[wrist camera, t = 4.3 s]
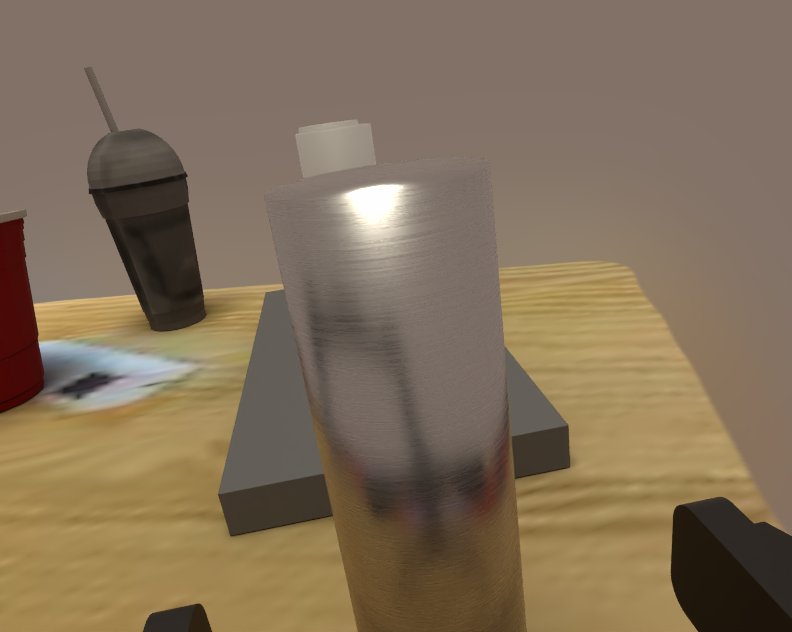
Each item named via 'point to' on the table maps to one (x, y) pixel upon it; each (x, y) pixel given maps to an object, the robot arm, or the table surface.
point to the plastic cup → (17, 318)
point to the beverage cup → (148, 219)
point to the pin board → (288, 404)
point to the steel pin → (408, 387)
